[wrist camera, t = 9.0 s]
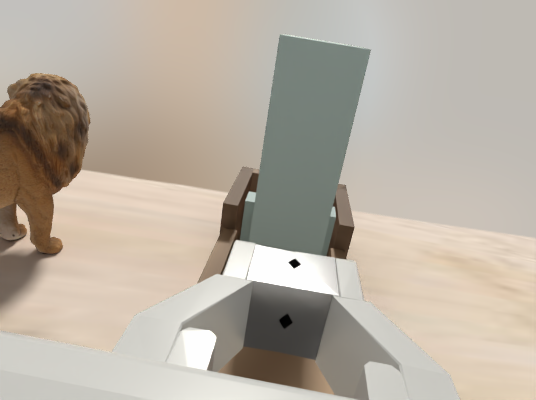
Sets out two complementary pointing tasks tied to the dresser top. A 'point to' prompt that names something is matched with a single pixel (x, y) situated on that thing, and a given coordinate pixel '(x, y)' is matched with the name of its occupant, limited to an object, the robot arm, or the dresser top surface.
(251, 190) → the dark brown open box
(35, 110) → the lion figurine
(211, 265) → the lane
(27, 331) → the dresser top surface
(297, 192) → the grey-green l-shaped block
